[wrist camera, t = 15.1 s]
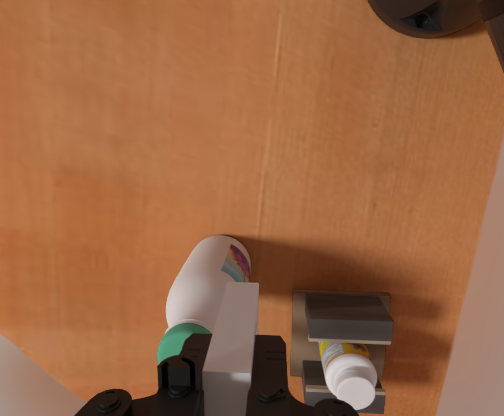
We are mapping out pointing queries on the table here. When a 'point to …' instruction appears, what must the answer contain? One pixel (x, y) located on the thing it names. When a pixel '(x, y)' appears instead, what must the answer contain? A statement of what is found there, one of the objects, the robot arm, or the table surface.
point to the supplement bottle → (349, 372)
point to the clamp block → (338, 336)
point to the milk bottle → (202, 290)
